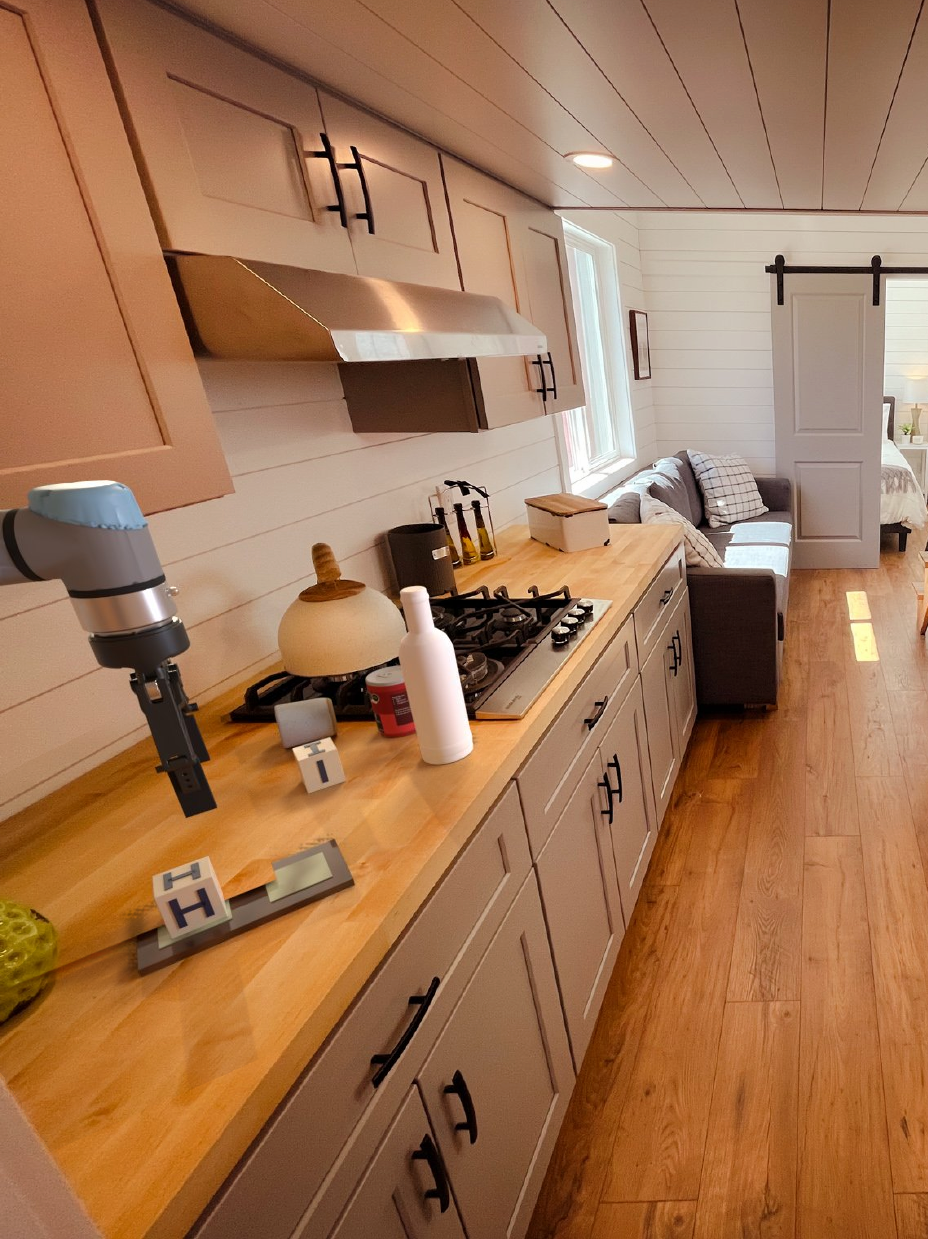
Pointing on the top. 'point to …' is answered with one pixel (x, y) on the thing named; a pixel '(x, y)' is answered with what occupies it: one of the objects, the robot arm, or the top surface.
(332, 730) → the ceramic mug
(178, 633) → the robot arm
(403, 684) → the canned food
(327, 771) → the letter I
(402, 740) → the top surface
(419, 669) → the bottle
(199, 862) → the letter H
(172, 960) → the word board
